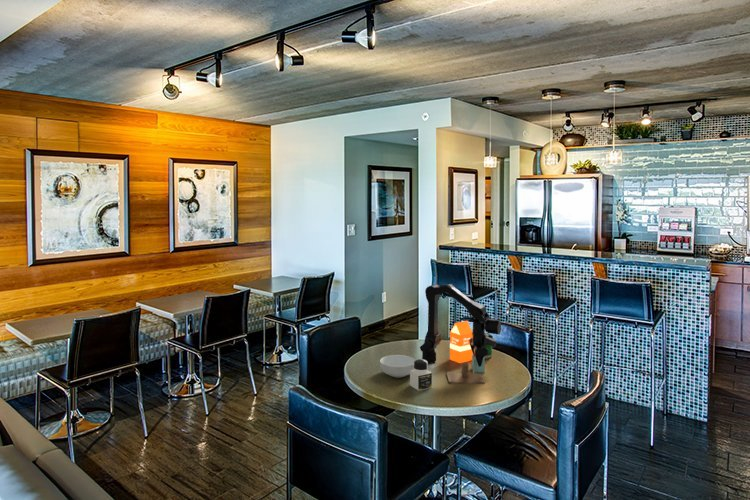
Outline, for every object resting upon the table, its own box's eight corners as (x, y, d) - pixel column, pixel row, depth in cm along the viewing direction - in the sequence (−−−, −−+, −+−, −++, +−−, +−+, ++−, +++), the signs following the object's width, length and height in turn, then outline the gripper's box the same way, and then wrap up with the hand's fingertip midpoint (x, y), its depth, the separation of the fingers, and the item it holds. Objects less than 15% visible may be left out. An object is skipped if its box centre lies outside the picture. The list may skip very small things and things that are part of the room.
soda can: (492, 359, 257) (492, 336, 256) (477, 358, 259) (477, 335, 257) (491, 354, 264) (492, 332, 263) (477, 353, 266) (477, 332, 265)
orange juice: (472, 360, 256) (473, 322, 254) (460, 363, 251) (460, 324, 249) (461, 356, 263) (462, 319, 260) (449, 359, 258) (449, 321, 256)
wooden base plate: (449, 383, 224) (449, 368, 224) (446, 373, 236) (446, 359, 236) (484, 383, 224) (485, 368, 223) (480, 374, 236) (480, 359, 235)
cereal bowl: (374, 378, 231) (374, 363, 230) (386, 367, 247) (386, 353, 246) (410, 383, 225) (410, 368, 225) (419, 370, 241) (419, 356, 240)
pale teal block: (473, 372, 238) (473, 358, 238) (471, 368, 244) (472, 355, 243) (484, 372, 238) (484, 358, 237) (482, 368, 243) (482, 355, 243)
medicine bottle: (418, 391, 216) (418, 364, 215) (409, 385, 222) (409, 359, 221) (432, 388, 219) (432, 361, 218) (423, 382, 226) (423, 357, 224)
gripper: (499, 337, 229) (499, 369, 231) (491, 326, 248) (491, 357, 250) (475, 337, 230) (475, 369, 231) (469, 326, 248) (468, 356, 250)
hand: (478, 363), depth 240 cm, fingers open, 9 cm apart
